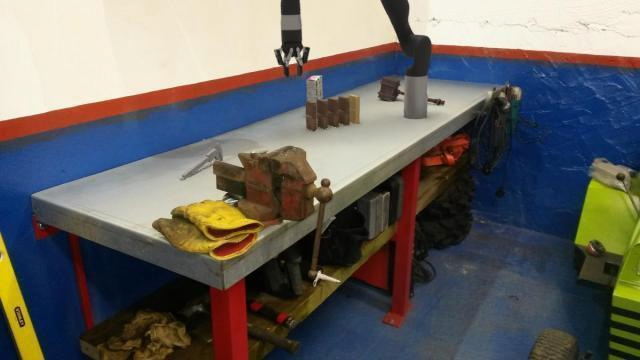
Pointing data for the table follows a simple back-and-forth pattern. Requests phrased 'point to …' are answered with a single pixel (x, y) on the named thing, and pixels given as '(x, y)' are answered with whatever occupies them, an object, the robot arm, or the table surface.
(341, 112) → the domino
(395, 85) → the hammer
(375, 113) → the table surface
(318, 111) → the domino
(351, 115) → the domino
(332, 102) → the domino
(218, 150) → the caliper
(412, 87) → the robot arm
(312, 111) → the domino
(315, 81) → the candy bar box
